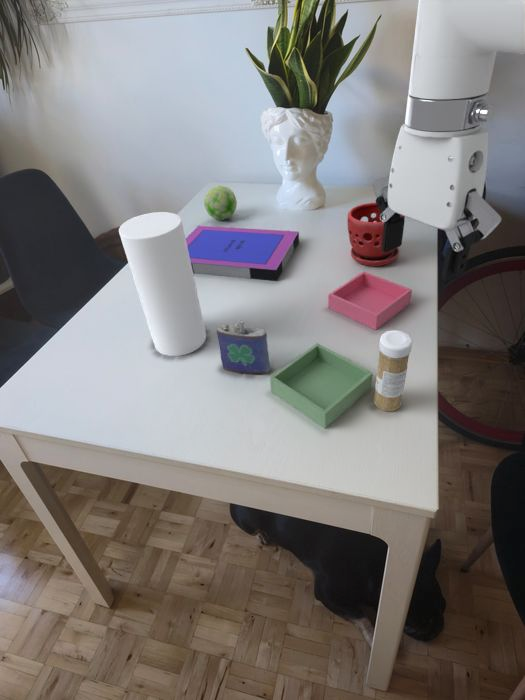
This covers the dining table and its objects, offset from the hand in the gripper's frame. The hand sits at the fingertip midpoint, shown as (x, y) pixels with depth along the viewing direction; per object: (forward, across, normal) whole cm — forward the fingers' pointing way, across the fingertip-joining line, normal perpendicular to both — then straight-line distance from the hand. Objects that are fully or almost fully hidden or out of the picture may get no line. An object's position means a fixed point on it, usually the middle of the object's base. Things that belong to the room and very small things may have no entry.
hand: (419, 261), depth 56 cm
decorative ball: (+26, +87, -16) cm, 92 cm away
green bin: (+26, +10, +8) cm, 29 cm away
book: (+26, +63, -6) cm, 68 cm away
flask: (+26, +22, +16) cm, 38 cm away
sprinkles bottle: (+26, +1, +2) cm, 26 cm away
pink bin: (+26, +23, -16) cm, 38 cm away
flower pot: (+26, +38, -31) cm, 55 cm away
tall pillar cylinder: (+26, +39, +22) cm, 51 cm away
